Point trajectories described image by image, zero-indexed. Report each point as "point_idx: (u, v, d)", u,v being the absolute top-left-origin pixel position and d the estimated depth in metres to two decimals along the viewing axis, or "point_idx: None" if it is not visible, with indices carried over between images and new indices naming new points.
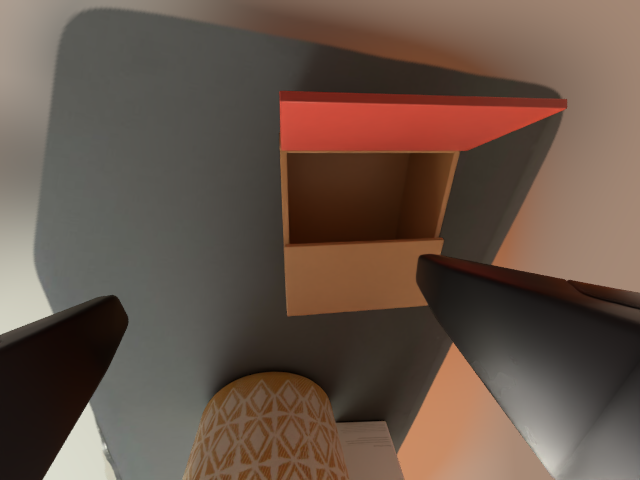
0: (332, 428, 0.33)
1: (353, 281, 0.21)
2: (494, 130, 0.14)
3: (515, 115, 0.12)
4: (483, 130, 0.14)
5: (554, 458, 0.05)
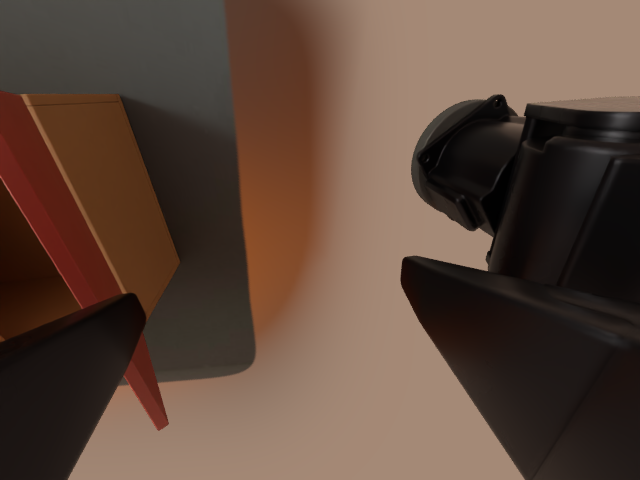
0: None
1: None
2: None
3: None
4: None
5: (528, 463, 0.05)
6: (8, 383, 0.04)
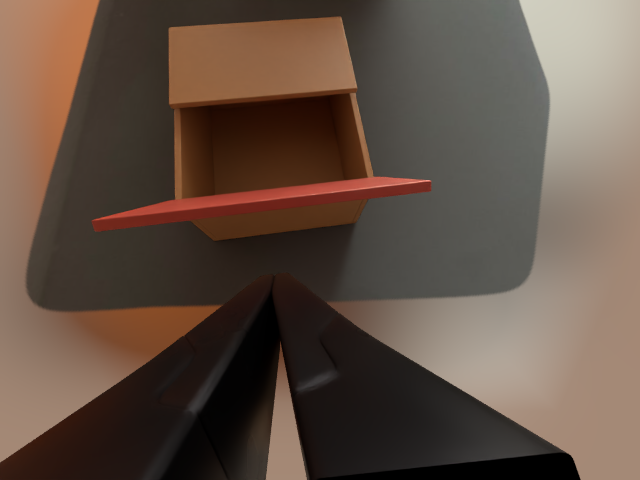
0: None
1: (272, 54, 0.18)
2: (161, 206, 0.12)
3: (154, 210, 0.10)
4: (175, 204, 0.12)
5: None
6: (250, 346, 0.05)
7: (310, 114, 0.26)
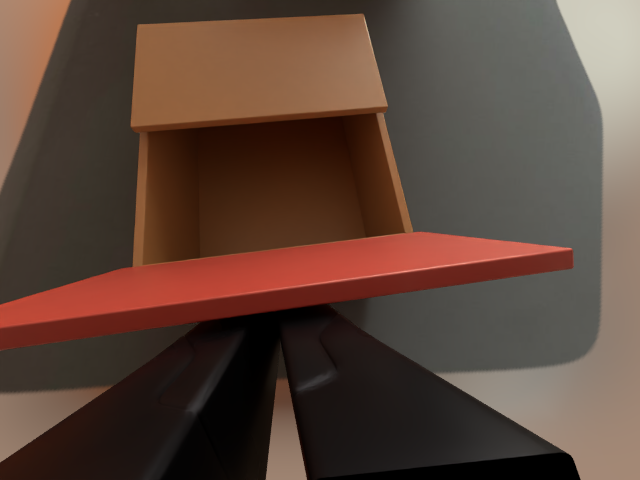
0: None
1: (274, 61, 0.14)
2: (79, 289, 0.07)
3: (33, 311, 0.05)
4: (105, 285, 0.07)
5: None
6: (250, 346, 0.05)
7: (319, 134, 0.21)
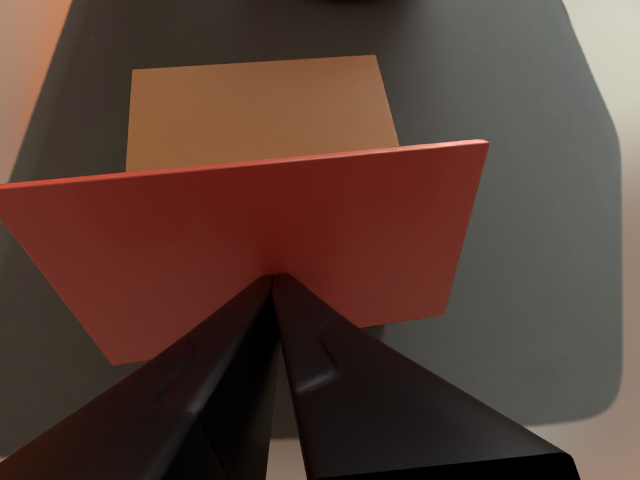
0: None
1: (280, 110, 0.13)
2: None
3: None
4: None
5: None
6: (250, 346, 0.05)
7: None
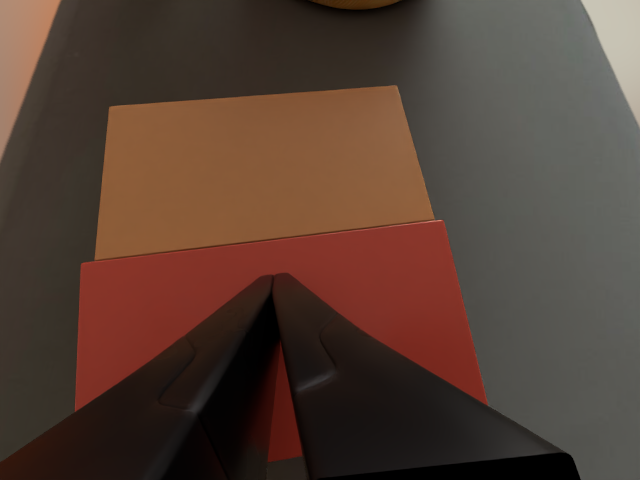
0: None
1: (286, 155, 0.11)
2: None
3: None
4: None
5: None
6: (250, 346, 0.05)
7: None
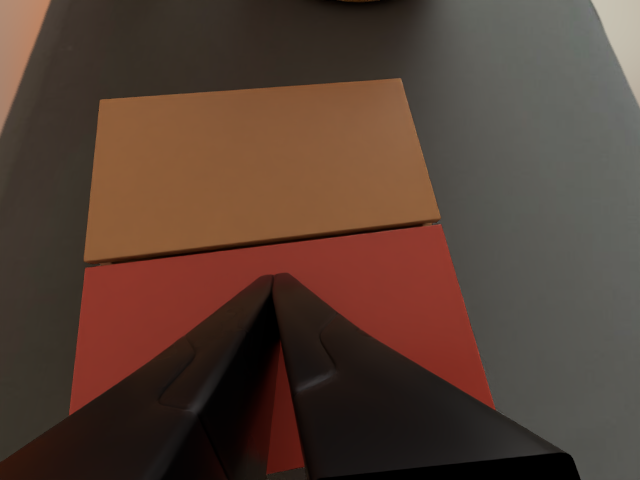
0: None
1: (285, 151, 0.10)
2: None
3: None
4: None
5: None
6: (250, 346, 0.05)
7: None
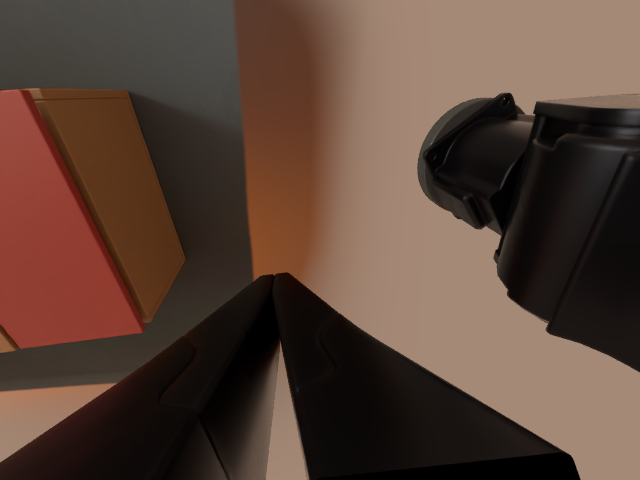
0: None
1: None
2: None
3: None
4: None
5: None
6: (250, 346, 0.05)
7: None
